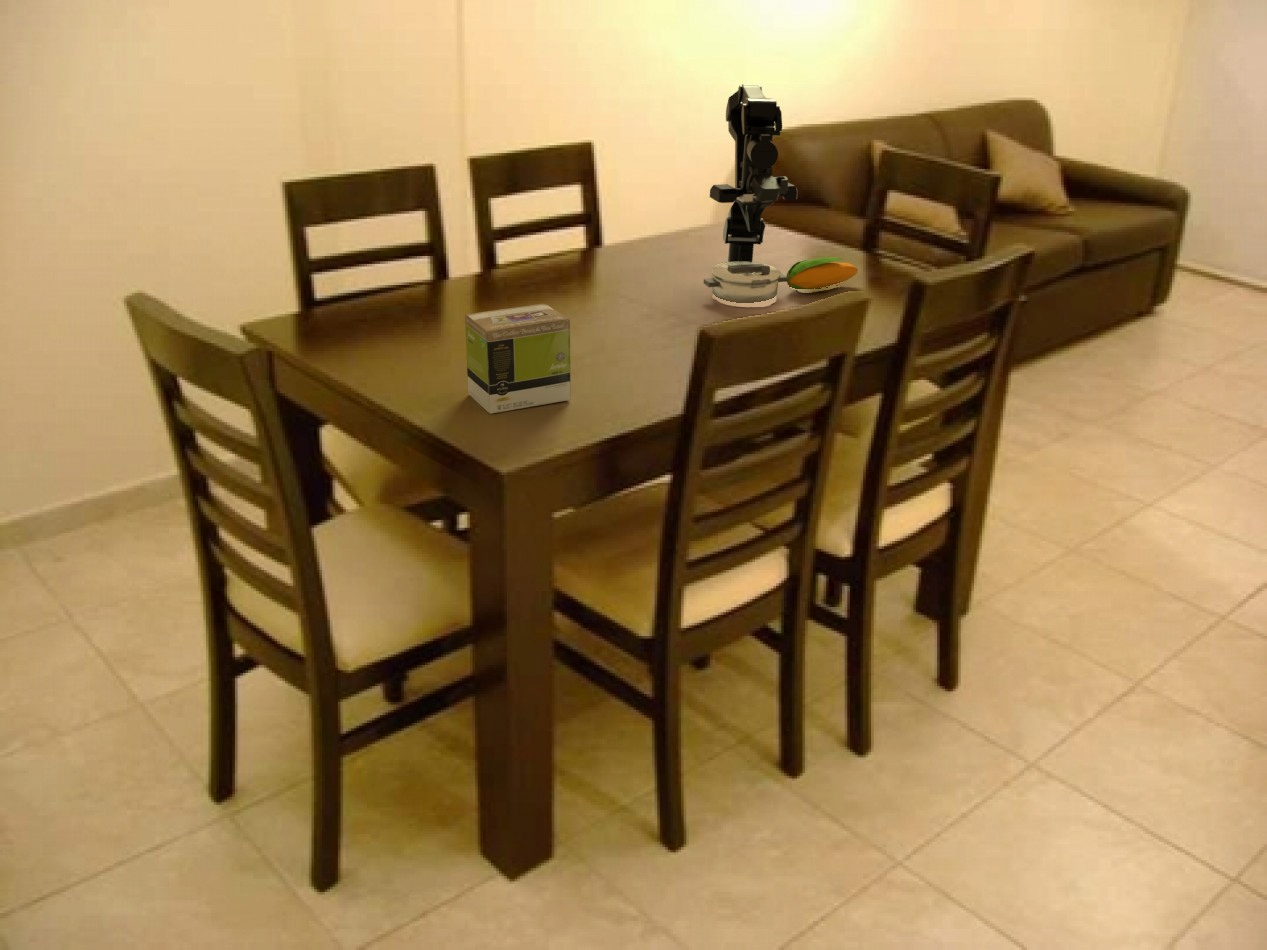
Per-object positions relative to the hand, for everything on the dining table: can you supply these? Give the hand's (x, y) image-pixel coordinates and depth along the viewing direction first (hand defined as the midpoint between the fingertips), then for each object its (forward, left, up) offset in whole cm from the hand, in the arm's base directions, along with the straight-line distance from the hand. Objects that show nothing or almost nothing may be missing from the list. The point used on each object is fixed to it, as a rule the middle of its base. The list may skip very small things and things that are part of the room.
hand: (750, 231), depth 264 cm
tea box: (+52, -67, -12) cm, 86 cm away
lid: (+10, -5, -7) cm, 13 cm away
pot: (+9, -5, -12) cm, 16 cm away
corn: (+7, +15, -12) cm, 21 cm away
